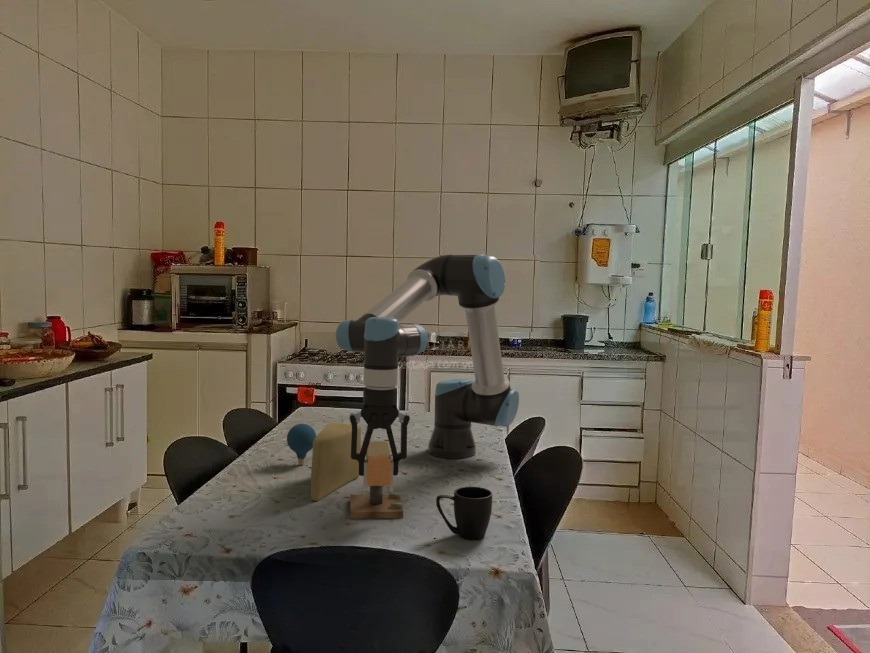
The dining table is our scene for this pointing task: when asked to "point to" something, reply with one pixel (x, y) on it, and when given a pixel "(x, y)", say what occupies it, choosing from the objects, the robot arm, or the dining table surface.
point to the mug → (469, 512)
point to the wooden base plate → (376, 505)
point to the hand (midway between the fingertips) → (377, 489)
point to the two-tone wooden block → (378, 464)
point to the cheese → (333, 459)
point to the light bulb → (301, 440)
